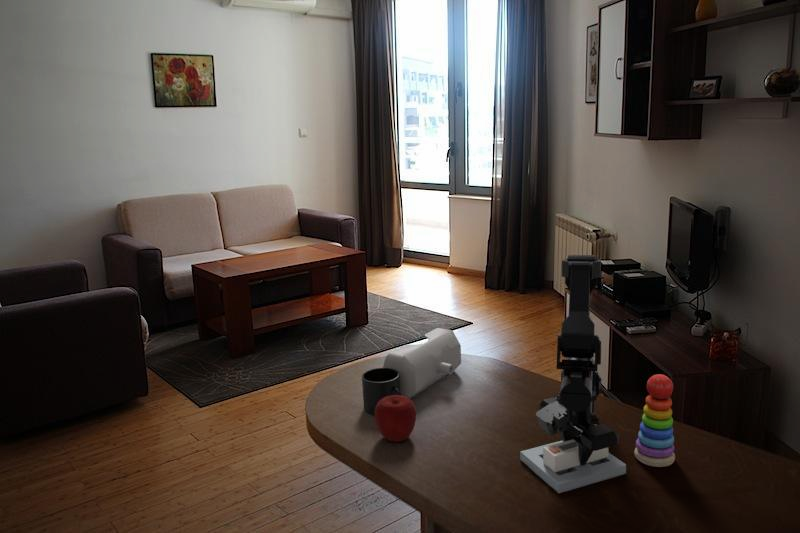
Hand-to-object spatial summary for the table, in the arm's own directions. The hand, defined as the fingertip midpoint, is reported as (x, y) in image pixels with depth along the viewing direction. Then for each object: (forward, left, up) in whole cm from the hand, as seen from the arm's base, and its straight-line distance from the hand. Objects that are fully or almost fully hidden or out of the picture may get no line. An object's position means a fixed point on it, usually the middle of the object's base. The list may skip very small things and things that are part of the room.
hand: (576, 459), depth 138 cm
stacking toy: (-17, +4, -3) cm, 17 cm away
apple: (+28, -29, -3) cm, 41 cm away
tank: (+10, -53, -3) cm, 54 cm away
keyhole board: (0, -1, -2) cm, 3 cm away
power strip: (0, 0, -2) cm, 2 cm away
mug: (+25, -44, -3) cm, 51 cm away
